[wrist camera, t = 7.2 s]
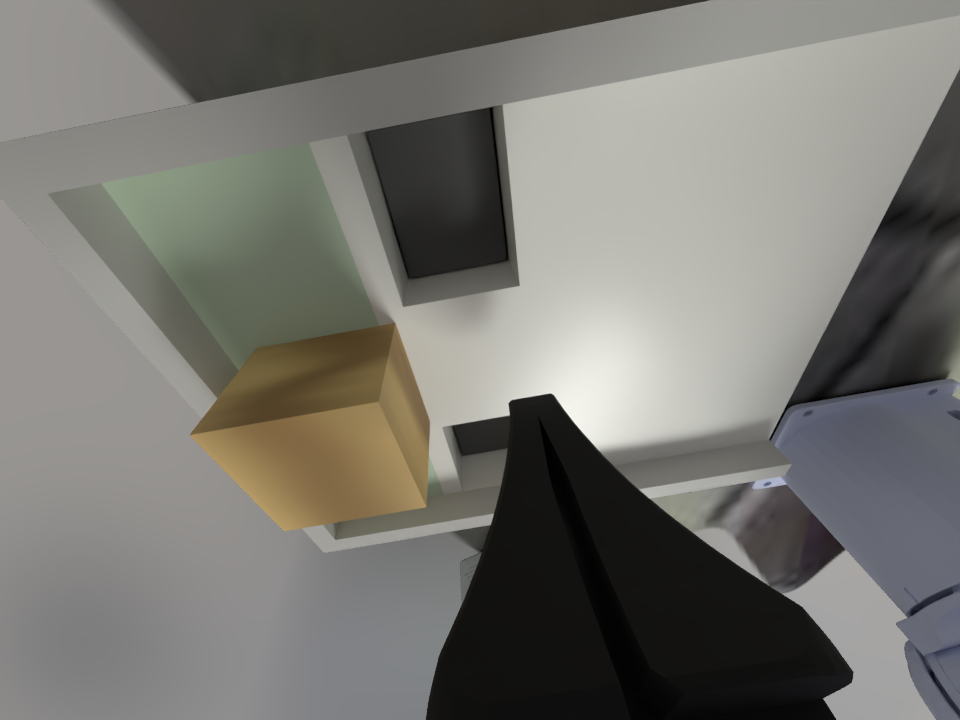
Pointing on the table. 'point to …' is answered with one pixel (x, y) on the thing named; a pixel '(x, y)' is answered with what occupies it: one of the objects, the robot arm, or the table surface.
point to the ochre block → (324, 429)
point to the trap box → (521, 227)
